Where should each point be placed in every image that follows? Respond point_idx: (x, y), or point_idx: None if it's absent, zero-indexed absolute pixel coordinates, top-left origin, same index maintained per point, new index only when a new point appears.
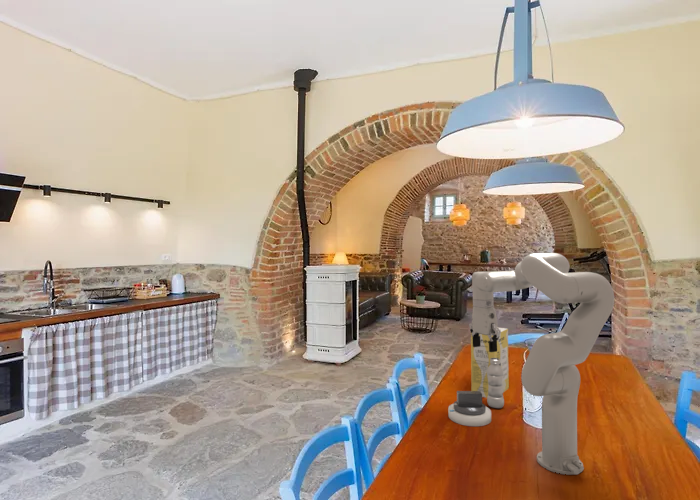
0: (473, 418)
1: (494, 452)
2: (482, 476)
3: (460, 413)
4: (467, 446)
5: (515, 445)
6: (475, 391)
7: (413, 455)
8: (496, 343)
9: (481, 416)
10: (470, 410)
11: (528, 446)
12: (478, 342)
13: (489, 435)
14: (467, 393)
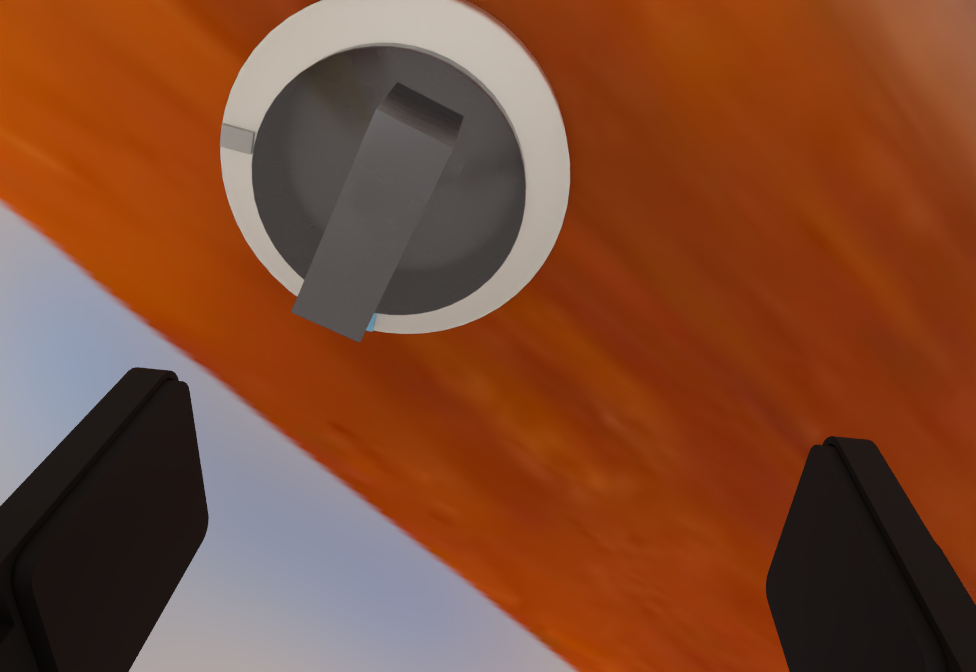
0: (544, 261)
1: (869, 360)
2: (970, 543)
3: None
4: (729, 434)
5: (903, 189)
6: (368, 162)
7: (653, 656)
8: (960, 611)
9: (546, 186)
10: (486, 259)
11: (972, 119)
12: (146, 497)
13: (702, 237)
14: (388, 271)
